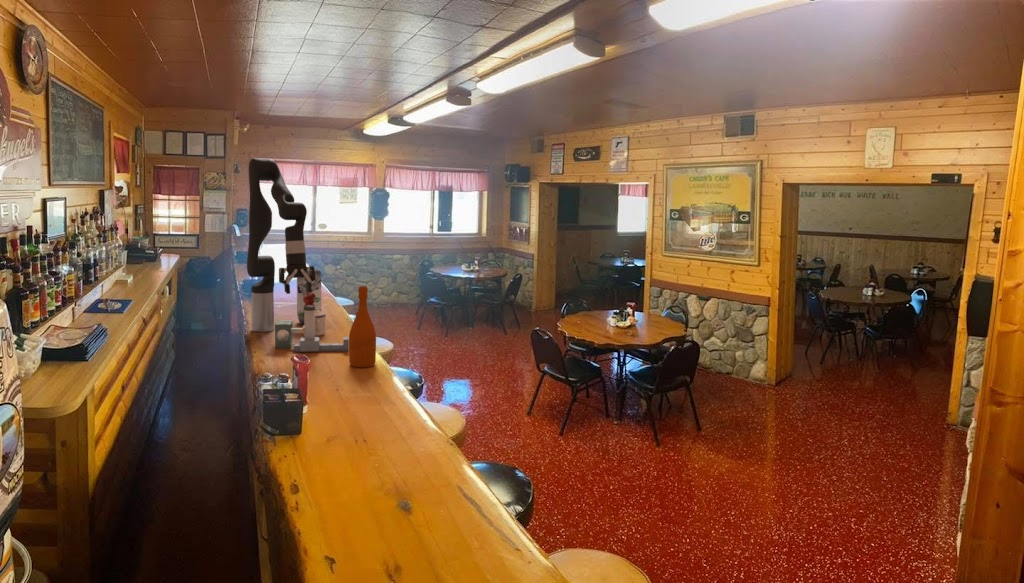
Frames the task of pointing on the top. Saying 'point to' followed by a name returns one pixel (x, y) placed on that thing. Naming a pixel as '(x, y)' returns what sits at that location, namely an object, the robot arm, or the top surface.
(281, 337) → the gauge cabinet
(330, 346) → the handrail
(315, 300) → the juice carton
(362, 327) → the wine bottle
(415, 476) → the top surface
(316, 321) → the teacup with lid
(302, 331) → the plunger
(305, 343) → the post
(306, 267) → the robot arm
